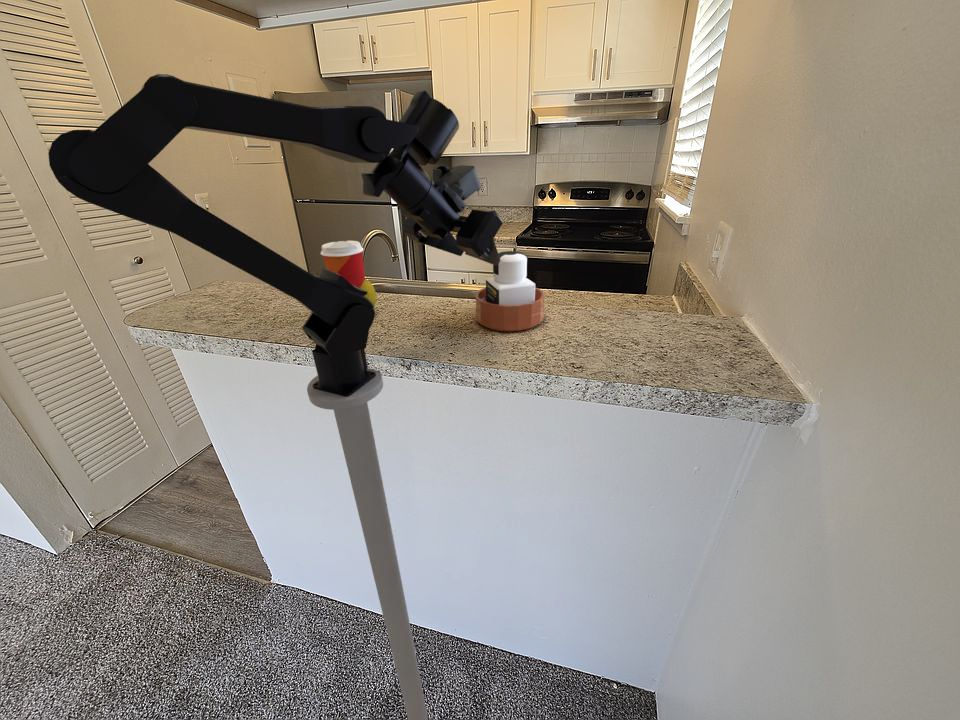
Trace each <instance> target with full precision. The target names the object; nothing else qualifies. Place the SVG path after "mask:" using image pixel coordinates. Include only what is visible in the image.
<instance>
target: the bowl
mask: <svg viewBox="0 0 960 720" xmlns="http://www.w3.org/2000/svg"><path fill="white" fill-rule="evenodd" d="M545 297H546V296H545V292H544V290H541V289H540V288H538V287H536V286H535V301H534V302H531V303H528V304H522V305H498V304H491V303H488V302H486V287H483V288H481V289H479V290H478V291H477V292H476V293H475V319H476V322H478V323H479V324H480V326H481V325H482V326H483V327H485V328H486V329H490V330H494V331H498V332H499V331H500V332H520V331H525V330H530V329H532V328H534V327H537V326H538V325H540V324H541V323H542V322H543V320H544V319H545V303H546V302H545V301H546V300H545V299H546V298H545Z"/></svg>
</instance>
